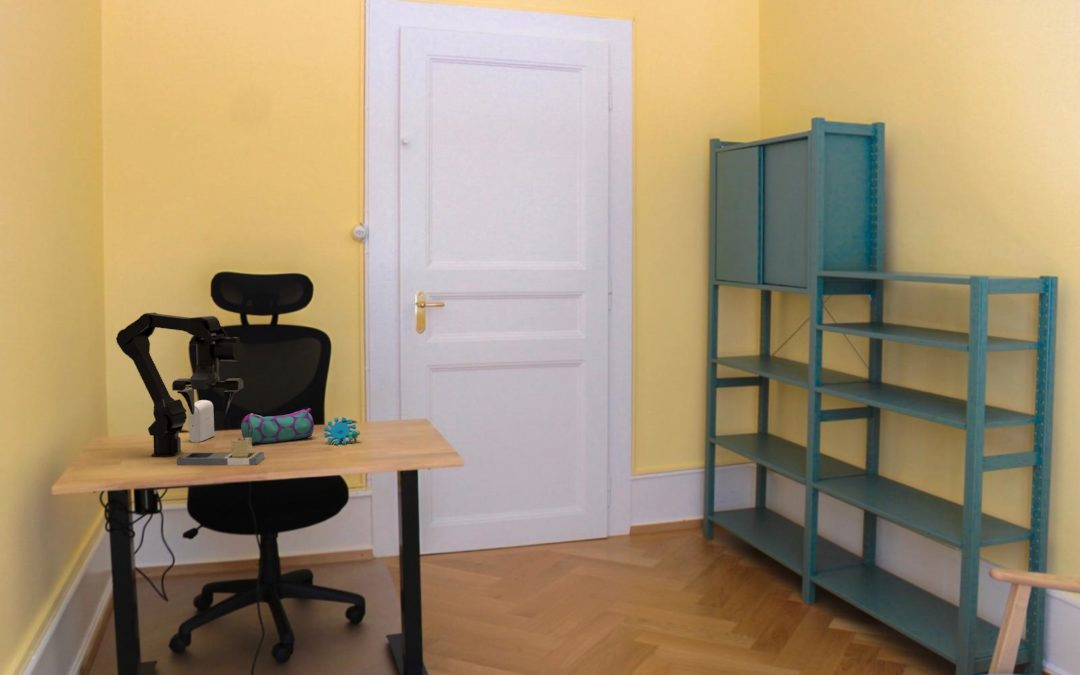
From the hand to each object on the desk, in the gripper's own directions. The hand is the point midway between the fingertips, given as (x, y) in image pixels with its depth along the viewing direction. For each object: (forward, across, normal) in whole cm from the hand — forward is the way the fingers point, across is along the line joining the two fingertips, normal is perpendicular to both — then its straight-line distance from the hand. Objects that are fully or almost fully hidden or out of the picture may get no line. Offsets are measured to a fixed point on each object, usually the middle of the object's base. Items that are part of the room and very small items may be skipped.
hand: (209, 414), depth 275 cm
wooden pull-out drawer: (+13, +11, -6) cm, 18 cm away
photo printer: (+13, -11, +26) cm, 31 cm away
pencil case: (+13, +14, +24) cm, 30 cm away
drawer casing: (+12, +5, -6) cm, 15 cm away
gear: (+13, +34, +20) cm, 42 cm away
